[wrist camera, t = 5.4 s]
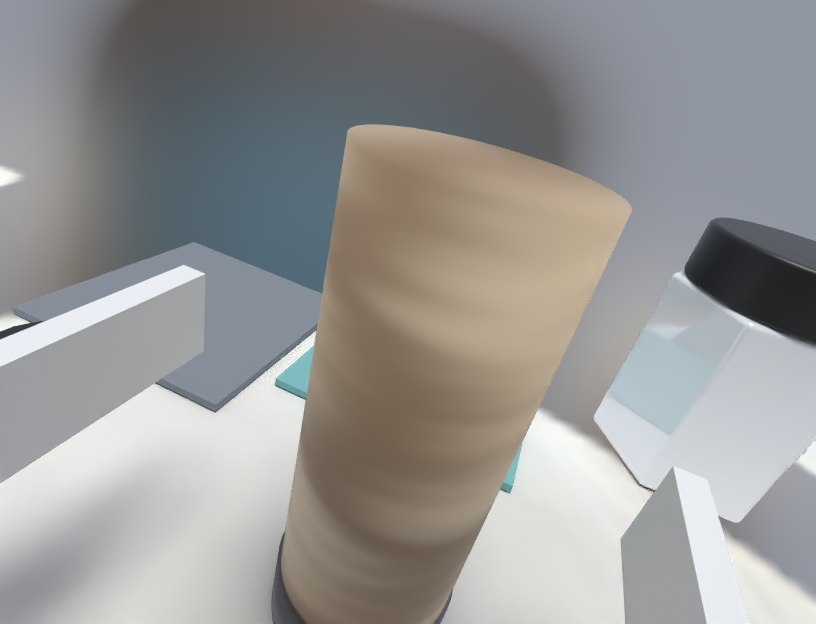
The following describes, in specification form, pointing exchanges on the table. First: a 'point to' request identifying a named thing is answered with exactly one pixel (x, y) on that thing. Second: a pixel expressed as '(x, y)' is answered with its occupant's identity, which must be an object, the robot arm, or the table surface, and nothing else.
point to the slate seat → (210, 318)
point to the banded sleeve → (429, 363)
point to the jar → (723, 368)
